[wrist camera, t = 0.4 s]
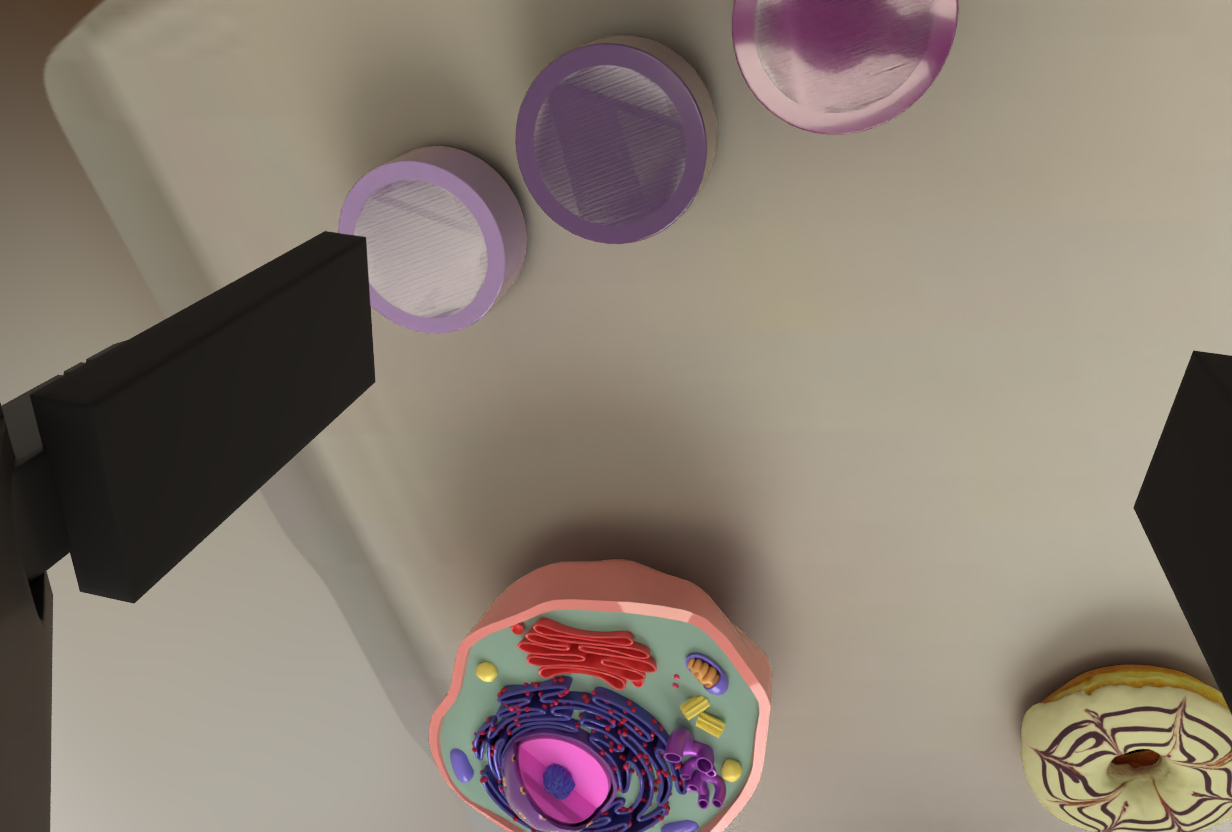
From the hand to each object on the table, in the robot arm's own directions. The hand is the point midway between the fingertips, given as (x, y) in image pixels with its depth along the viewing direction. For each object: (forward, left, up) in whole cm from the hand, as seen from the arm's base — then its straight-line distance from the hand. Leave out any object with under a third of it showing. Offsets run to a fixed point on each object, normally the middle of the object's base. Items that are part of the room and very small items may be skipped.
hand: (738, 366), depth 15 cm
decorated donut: (+37, +1, -28) cm, 46 cm away
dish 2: (-3, +2, -28) cm, 28 cm away
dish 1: (-2, -18, -28) cm, 33 cm away
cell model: (+23, -22, -28) cm, 42 cm away
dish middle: (-3, -8, -28) cm, 29 cm away
